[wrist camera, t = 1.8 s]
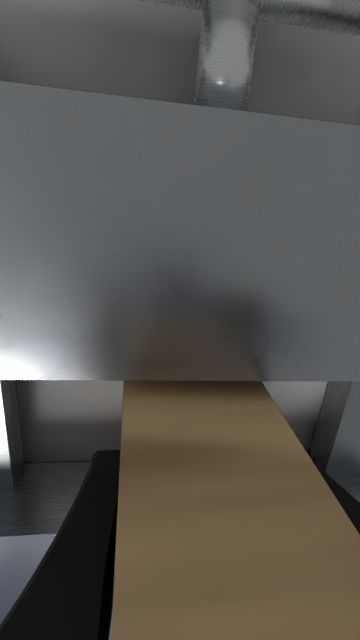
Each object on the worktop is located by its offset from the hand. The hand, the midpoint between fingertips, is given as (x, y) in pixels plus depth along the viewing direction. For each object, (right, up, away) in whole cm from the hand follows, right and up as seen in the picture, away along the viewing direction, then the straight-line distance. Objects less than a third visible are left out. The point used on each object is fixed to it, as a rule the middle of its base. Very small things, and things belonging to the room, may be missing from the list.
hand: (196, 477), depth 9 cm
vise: (0, +1, +3) cm, 3 cm away
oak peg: (0, +1, +3) cm, 3 cm away
